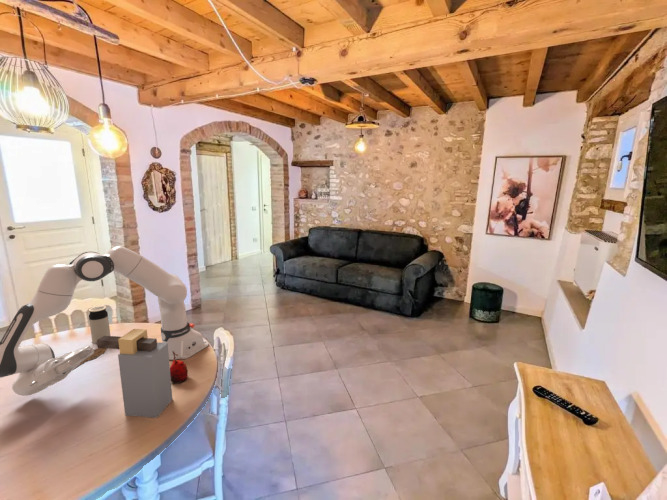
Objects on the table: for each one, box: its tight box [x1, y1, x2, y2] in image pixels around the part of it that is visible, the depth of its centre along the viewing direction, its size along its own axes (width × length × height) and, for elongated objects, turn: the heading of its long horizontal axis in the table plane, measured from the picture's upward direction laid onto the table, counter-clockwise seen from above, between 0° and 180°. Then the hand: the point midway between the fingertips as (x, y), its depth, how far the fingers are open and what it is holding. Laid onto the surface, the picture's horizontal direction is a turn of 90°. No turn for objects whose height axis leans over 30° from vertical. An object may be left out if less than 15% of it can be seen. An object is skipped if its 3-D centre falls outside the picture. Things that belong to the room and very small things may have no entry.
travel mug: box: [88, 305, 111, 344], centre depth 168 cm, size 8×8×18 cm
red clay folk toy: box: [170, 351, 189, 384], centre depth 137 cm, size 8×7×15 cm
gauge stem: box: [96, 335, 158, 351], centre depth 116 cm, size 20×4×3 cm, turn 86°
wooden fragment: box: [72, 347, 108, 371], centre depth 153 cm, size 26×11×1 cm, turn 163°
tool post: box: [117, 328, 173, 419], centre depth 118 cm, size 12×10×30 cm
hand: (81, 356), depth 119 cm, fingers open, 8 cm apart
